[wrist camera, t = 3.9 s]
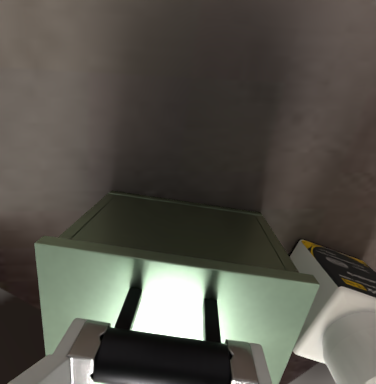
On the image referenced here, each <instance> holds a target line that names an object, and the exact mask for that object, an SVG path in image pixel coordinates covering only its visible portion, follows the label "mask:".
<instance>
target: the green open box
mask: <svg viewBox="0 0 376 384" xmlns="http://www.w3.org/2000/svg"><path fill="white" fill-rule="evenodd" d="M58 238H64V239H70V240H77V241H84V242H91V243H98V244H105V245H112V246H118V247H125V248H132V249H139V250H146V251H153V252H160V253H166V254H173V255H180V256H187V257H194V258H201V259H208V260H214V261H221V262H228V263H235V264H242V265H249V266H256V267H262V268H269V269H276V270H283V271H290V272H297V273H299V271H298V270H297V268H296V267H295V265H294V264H293V262H292V260H291V259H290V257H289V256H288V254H287V253H286V251H285V250H284V248H283V246H282V245H281V243H280V242H279V240H278V239H277V237H276V235H275V234H274V232H273V231H272V229H271V228H270V226H269V225H268V223H267V221H266V220H265V218H264V217H263V215H262V214H261V213H260V212H254V211H247V210H241V209H234V208H227V207H220V206H213V205H207V204H200V203H193V202H186V201H179V200H173V199H166V198H159V197H152V196H145V195H139V194H132V193H125V192H118V191H110V192H109V193H108V194H107V195H106V196H105V197H103V198H102V199H101V200H100V201H99V202H98V203H97V204H95V205H94V206H93V207H92V208H91V209H90V210H89V211H87V212H86V213H85V214H84V215H83V216H82V217H81V218H79V219H78V220H77V221H76V222H75V223H74V224H73V225H71V226H70V227H69V228H68V229H67V230H66V231H65V232H63V233H62V234H61V235H60V236H59V237H58Z"/></svg>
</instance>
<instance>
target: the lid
mask: <svg viewBox="0 0 376 384" xmlns="http://www.w3.org/2000/svg"><path fill="white" fill-rule="evenodd" d="M34 245H35V255H36V265H37V274H38V284H39V294H40V304H41V313H42V323H43V333H44V343H45V353H46V356H47V355H48V354H50V355H52V354H53V353H54V351H55V349H56V348H57V346H58V344H59V343H60V341H61V339H62V338H63V336H64V335H65V333H66V331H67V330H68V328H69V326H70V325H71V323H72V321H73V320H74V319H75V318H82V319H89V320H95V321H100V322H106V323H111V327H110V328H108V329H107V330H106V332H105V334H104V336H103V338H102V340H101V344H100V347H99V350H98V354H97V358H96V362H95V367H94V372H93V380H94V381H95V382H97V384H230V355H229V350H228V347H227V345H226V344H224V342H225V340H226V339H228V340H236V341H244V342H248V343H256V344H261V346H262V348H263V352H264V355H265V359H266V362H267V366H268V370H269V373H270V377H271V380H272V384H279V382H280V379H281V377H282V374H283V372H284V370H285V367H286V365H287V363H288V360H289V358H290V355H291V353H292V351H293V348H294V346H295V344H296V341H297V339H298V336H299V334H300V332H301V329H302V327H303V325H304V322H305V320H306V317H307V315H308V313H309V310H310V308H311V306H312V303H313V301H314V298H315V296H316V294H317V291H318V289H319V287H320V284H319V283H318V281H317V280H316V278H315V277H314V275H310V274H304V273H297V272H290V271H283V270H276V269H269V268H262V267H256V266H249V265H242V264H235V263H228V262H221V261H214V260H208V259H201V258H194V257H187V256H180V255H173V254H166V253H160V252H153V251H146V250H139V249H132V248H125V247H118V246H112V245H105V244H98V243H91V242H84V241H77V240H70V239H64V238H57V237H50V236H43V237H42V238H40V239H39V240H38V241H37V242H35V244H34Z"/></svg>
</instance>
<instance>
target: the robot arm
mask: <svg viewBox="0 0 376 384" xmlns="http://www.w3.org/2000/svg"><path fill="white" fill-rule="evenodd" d="M110 327H111V323H106V322H100V321H95V320H89V319H82V318H75V319H74V320H73V321H72V323H71V325H70V326H69V328H68V330H67V331H66V333H65V335H64V336H63V338H62V339H61V341H60V343H59V344H58V346H57V348H56V349H55V351H54V353H53V354H52V355H50V354H48V355H47V356H46V357H44V358H43V359H41V360H40V361H39V362H37V363H36V364H34V365H33V366H32V367H30V368H29V369H28V370H26V371H25V372H23V373H22V374H20V375H19V376H17V377H16V378H15V379H13V380H12V381H11V382H9V383H8V384H97V382H95V381H94V380H93V372H94V367H95V362H96V358H97V354H98V350H99V347H100V344H101V340H102V338H103V336H104V334H105V332H106V330H107V329H108V328H110ZM224 344H226V345H227V347H228V350H229V355H230V384H272V380H271V377H270V373H269V370H268V366H267V362H266V359H265V355H264V352H263V348H262V346H261V344H256V343H248V342H244V341H236V340H228V339H226V340H225V342H224Z"/></svg>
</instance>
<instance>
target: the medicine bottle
mask: <svg viewBox="0 0 376 384" xmlns="http://www.w3.org/2000/svg"><path fill="white" fill-rule="evenodd" d="M290 259H291V260H292V262H293V264H294V265H295V267H296V268H297V270H298V271H299V273H304V274H310V275H314V277H315V278H316V280H317V281H318V283H319V284H320V287H319V289H318V291H317V294H316V296H315V298H314V301H313V303H312V306H311V308H310V310H309V313H308V315H307V317H306V320H305V322H304V325H303V327H302V329H301V332H300V334H299V336H298V339H297V341H296V344H295V346H294V348H293V352H294V353H295V354H296V355H299V356H302V357H305V358H309V359H312V360H315V361H318V362H321V363H325V364H326V365H327V367H328V369H329V371H330V373H331V375H332V377H333V379H334V381H335V383H336V384H376V272H374V271H373V270H372V269H371V268H370V267H369V266H368V265H367V264H365V263H364V262H363V261H361V260H359V259H356V258H353V257H351V256H348V255H345V254H342V253H339V252H336V251H334V250H331V249H328V248H325V247H322V246H320V245H317V244H314V243H311V242H308V241H305V240H300V241H299V242H298V244H297V246H296V247H295V249H294V251H293V252H292V254H291V255H290Z"/></svg>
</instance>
